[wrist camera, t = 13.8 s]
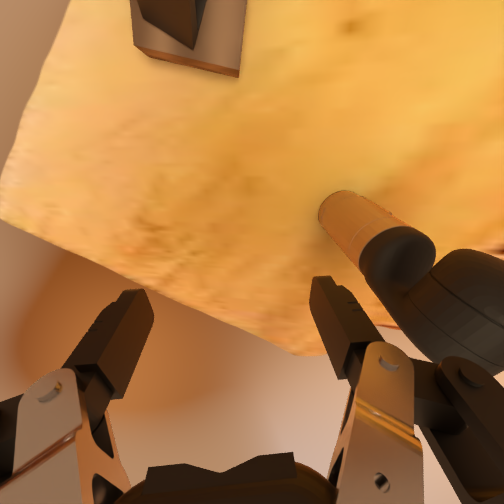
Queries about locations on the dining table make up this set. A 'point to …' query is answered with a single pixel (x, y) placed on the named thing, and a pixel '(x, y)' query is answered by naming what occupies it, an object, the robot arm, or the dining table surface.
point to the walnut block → (198, 38)
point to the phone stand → (175, 17)
